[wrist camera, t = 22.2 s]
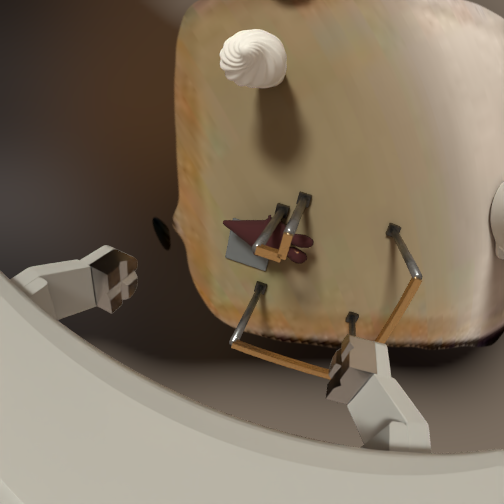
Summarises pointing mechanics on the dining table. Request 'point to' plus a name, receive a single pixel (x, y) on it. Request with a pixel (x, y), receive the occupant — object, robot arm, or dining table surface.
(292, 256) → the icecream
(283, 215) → the wire frame
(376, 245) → the dining table surface
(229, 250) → the mat
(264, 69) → the soft serve ice cream cone
